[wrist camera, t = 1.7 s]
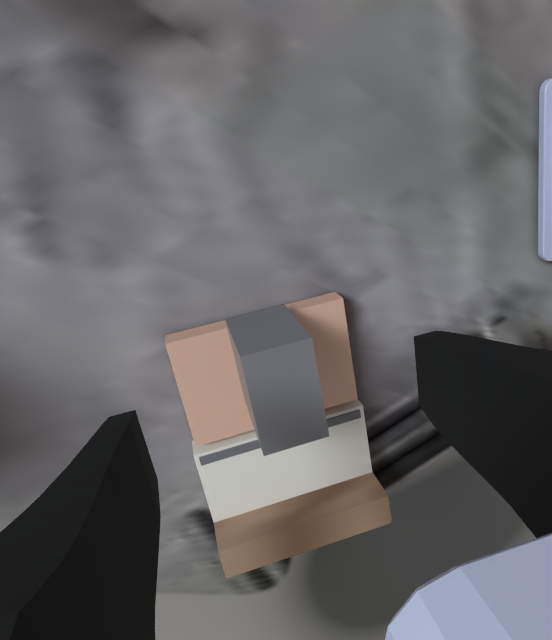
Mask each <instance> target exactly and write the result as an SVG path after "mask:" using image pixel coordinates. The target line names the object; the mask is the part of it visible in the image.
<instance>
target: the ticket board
mask: <svg viewBox="0 0 552 640" xmlns="http://www.w3.org/2000/svg"><path fill="white" fill-rule="evenodd" d="M325 414H326V419H327V425H328V431H329V437H326V438H322V439H319V440H316V441H312V442H309V443H306V444H303V445H299V446H296V447H293V448H289V449H286V450H283V451H280V452H276V453H273V454H270V455H266V456H264V455H263V452H262V450H261V447H260V444H259V441H258V438H257V435H256V432H255V430H251V431H248V432H245V433H241V434H238V435H234V436H231V437H228V438H224V439H221V440H217V441H214V442H211V443H207V444H204V445H200V446H197V447H196V446H195V442H194V440H193V441H192V446H193V455H194V459H195V462H196V465H197V469H198V472H199V475H200V479H201V482H202V485H203V488H204V492H205V495H206V498H207V502H208V505H209V508H210V512H211V515H212V518H213V522H214V527H215V534H216V541H217V548H218V553H219V556H220V560H221V563H222V566H223V569H224V573H225V576H226V579H227V578H230V577H233V576H236V575H239V574H242V573H244V572H247V571H250V570H253V569H256V568H259V567H262V566H265V565H268V564H271V563H274V562H277V561H280V560H283V559H286V558H289V557H292V556H295V555H298V554H301V553H304V552H307V551H309V550H313V549H315V548H318V547H321V546H324V545H327V544H330V543H333V542H336V541H339V540H342V539H345V538H348V537H351V536H354V535H357V534H359V533H363V532H365V531H369V530H371V529H375V528H377V527H381V526H383V525H386V524H389V523H392V520H391V513H390V505H389V497H388V495H387V493H386V492H385V490H384V489H383V487H382V486H381V484H380V483H379V481H378V480H377V478H376V477H375V475H374V474H373V472H372V466H371V459H370V452H369V445H368V438H367V431H366V424H365V417H364V410H363V405H362V404H361V402H360V401H359V400H358V399H357V400H353V401H350V402H347V403H343V404H340V405H336V406H333V407H330V408H326V409H325Z"/></svg>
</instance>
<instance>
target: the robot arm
mask: <svg viewBox="0 0 552 640" xmlns="http://www.w3.org/2000/svg"><path fill="white" fill-rule="evenodd" d="M538 255H539V257H540V258H541V259H542V260H545V261H552V78H549V79H547V80H545V81H544V82H543V83H542V85H541V87H540V92H539V190H538ZM414 344H415V357H416V370H417V383H418V396H419V405H420V407H421V408H422V409H423V411H424V412H425V414H426V415H427V417H428V418H429V419H430V421H431V422H432V423H433V425H434V426H435V427H436V429H437V430H438V431H439V433H440V434H441V435H442V436H443V437H444V438H445V439H446V440H447V441H448V442H449V443H450V444H451V445H452V446H453V447H454V448H455V449H456V450H457V451H458V453H459V454H460V455H461V456H462V457H464V459H465V460H466V461H467V462H468V463H469V464H470V465H471V466H472V467H473V468H474V469H475V470H476V471H477V472H478V473H479V474H480V475H482V477H483V478H484V479H485V480H486V481H487V482H488V483H489V484H490V485H492V487H493V488H494V489H495V490H496V491H497V492H498V493H499V494H500V495H501V496H502V497H503V498H504V499H505V500H506V501H507V502H508V503H509V505H510V506H511V507H512V508H513V509H514V511H515V512H516V513H517V514H518V516H519V517H520V518H521V519H522V520H523V522H524V523H525V524H526V525H527V527H528V528H529V529H530V530H531V532H532V533H533V534H534V535H535V537H536V539H533V540H530V541H527V542H524V543H521V544H518V545H515V546H513V547H510V548H507V549H504V550H501V551H498V552H495V553H492V554H490V555H487V556H484V557H481V558H478V559H475V560H472V561H469V562H466V563H463V564H461V565H458V566H455V567H453V568H451V569H450V570H448V571H446V572H444V573H442V574H441V575H439V576H437V577H436V578H434V579H432V580H430V581H429V582H427V583H425V584H423V585H421V586H420V587H418V588H417V589H416V590H415V591H414V593H413V594H412V595H411V596H410V597H409V599H408V600H407V601H406V602H405V604H404V605H403V606H402V607H401V608H400V610H399V611H398V612H397V613H396V615H395V616H394V617H393V618H392V620H391V622H390V624H389V626H388V629H387V634H386V639H385V640H552V351H549V350H542V349H536V348H530V347H524V346H519V345H513V344H508V343H503V342H498V341H493V340H488V339H483V338H478V337H474V336H469V335H463V334H458V333H452V332H444V331H433V332H430V333H426V334H422V335H418V336H414ZM159 534H160V503H159V491H158V480H157V476H156V473H155V470H154V467H153V464H152V461H151V458H150V455H149V452H148V448H147V445H146V442H145V439H144V436H143V433H142V430H141V427H140V424H139V421H138V417H137V414H136V411H135V410H134V411H130V412H126V413H122V414H118V415H115V416H111V417H109V418H108V419H107V420H106V421H105V422H104V423H103V424H102V425H101V427H100V428H99V429H98V430H97V432H96V433H95V434H94V435H93V436H92V438H91V439H90V440H89V441H88V443H87V444H86V445H85V446H84V447H83V449H82V450H81V451H80V452H79V453H78V455H77V456H76V457H75V458H74V459H73V461H72V462H71V463H70V464H69V465H68V466H67V468H66V469H65V470H64V471H63V472H62V473H61V474H60V475H59V476H58V477H57V478H56V479H55V481H54V482H53V483H52V484H51V485H50V486H49V487H48V488H47V489H46V490H45V491H44V492H43V493H42V495H41V496H40V497H39V498H37V499H36V500H35V501H34V502H33V503H32V504H31V505H30V506H29V507H28V508H27V509H26V510H25V511H24V512H23V513H22V514H21V515H19V516H18V517H17V518H16V519H15V520H14V521H13V522H12V523H11V524H9V525H8V526H7V527H6V528H5V529H4V530H3V531H1V532H0V640H155V599H156V583H157V567H158V552H159Z"/></svg>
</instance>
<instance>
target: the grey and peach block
mask: <svg viewBox="0 0 552 640" xmlns="http://www.w3.org/2000/svg"><path fill="white" fill-rule="evenodd" d="M165 345H166V348H167V352H168V355H169V358H170V362H171V365H172V368H173V372H174V375H175V379H176V382H177V385H178V389H179V392H180V395H181V399H182V402H183V405H184V409H185V412H186V416H187V419H188V422H189V426H190V429H191V432H192V436H193V439H194V442H195V446H196V447H197V446H200V445H204V444H207V443H211V442H214V441H217V440H221V439H224V438H228V437H231V436H234V435H238V434H241V433H245V432H248V431H251V430H255V432H256V435H257V438H258V441H259V444H260V447H261V450H262V452H263V455H264V456H266V455H270V454H273V453H276V452H280V451H283V450H286V449H289V448H293V447H296V446H299V445H303V444H306V443H309V442H312V441H316V440H319V439H322V438H326V437H329V431H328V425H327V419H326V414H325V409H326V408H330V407H333V406H336V405H340V404H343V403H347V402H350V401H353V400H357V399H358V397H357V390H356V384H355V377H354V370H353V363H352V356H351V349H350V342H349V336H348V329H347V322H346V315H345V308H344V301H343V298H342V297H341V296H340V295H339V294H337V293H336V292H333V293H329V294H325V295H321V296H317V297H313V298H309V299H305V300H302V301H298V302H294V303H290V304H286V305H284V304H282V305H278V306H274V307H270V308H266V309H262V310H259V311H255V312H251V313H247V314H243V315H239V316H235V317H231V318H227V319H225V320H224V321H220V322H216V323H212V324H208V325H204V326H201V327H197V328H193V329H189V330H185V331H181V332H177V333H173V334H169V335H166V336H165Z"/></svg>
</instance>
